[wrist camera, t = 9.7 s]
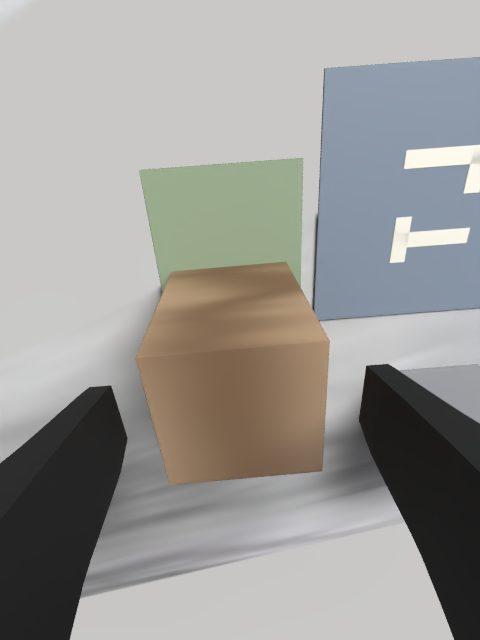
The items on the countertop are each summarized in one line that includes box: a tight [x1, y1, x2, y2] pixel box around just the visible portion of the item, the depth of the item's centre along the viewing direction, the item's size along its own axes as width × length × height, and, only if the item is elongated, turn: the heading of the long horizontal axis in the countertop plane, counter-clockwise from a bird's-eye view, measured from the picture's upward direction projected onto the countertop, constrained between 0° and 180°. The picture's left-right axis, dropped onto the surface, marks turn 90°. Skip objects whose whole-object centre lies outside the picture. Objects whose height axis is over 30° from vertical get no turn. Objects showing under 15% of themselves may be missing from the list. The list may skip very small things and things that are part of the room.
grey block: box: [400, 364, 480, 423], centre depth 15 cm, size 4×4×6 cm
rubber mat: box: [139, 158, 303, 293], centre depth 14 cm, size 6×12×1 cm, turn 4°
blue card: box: [314, 57, 480, 320], centre depth 13 cm, size 9×9×1 cm
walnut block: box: [136, 262, 330, 485], centre depth 11 cm, size 4×4×6 cm
